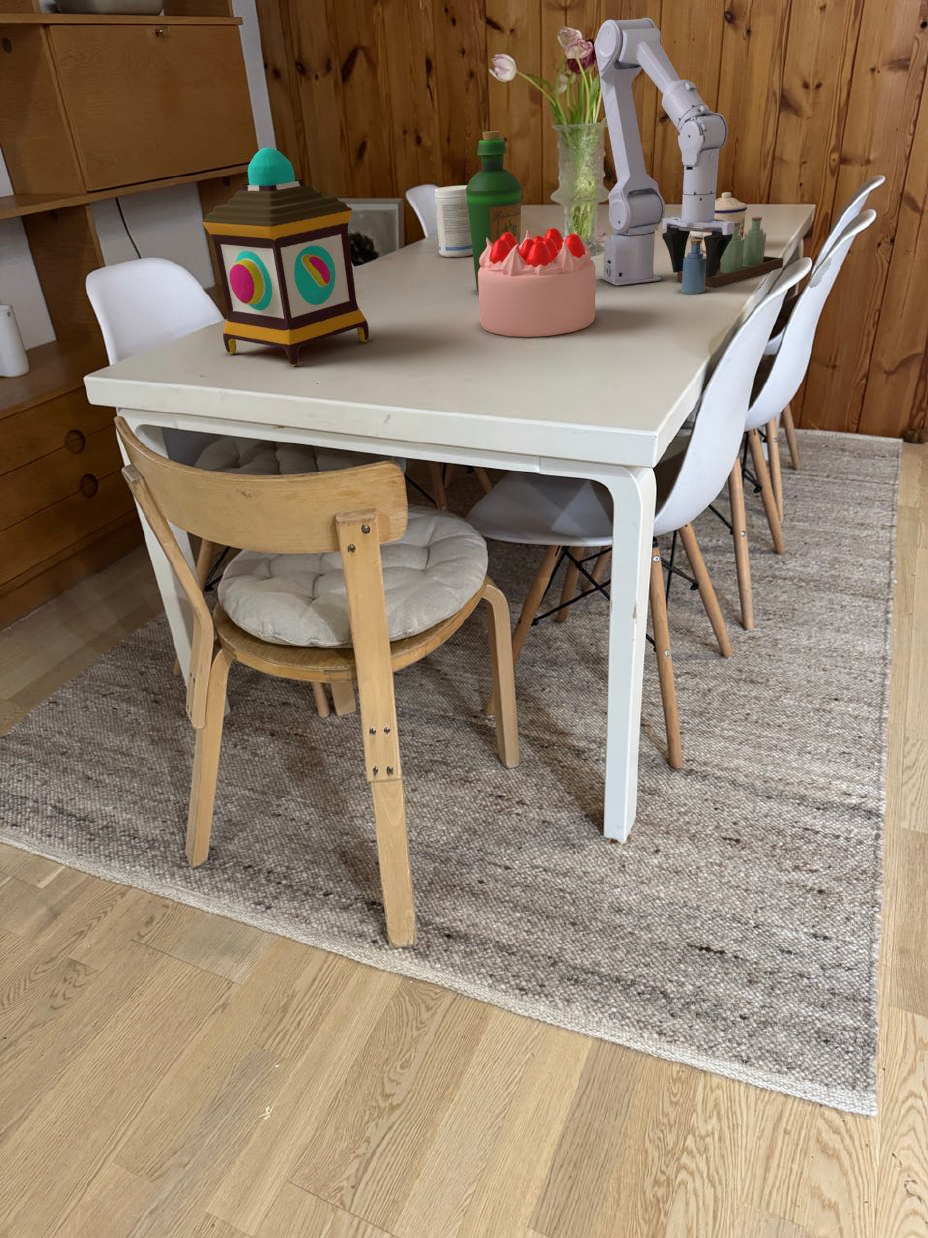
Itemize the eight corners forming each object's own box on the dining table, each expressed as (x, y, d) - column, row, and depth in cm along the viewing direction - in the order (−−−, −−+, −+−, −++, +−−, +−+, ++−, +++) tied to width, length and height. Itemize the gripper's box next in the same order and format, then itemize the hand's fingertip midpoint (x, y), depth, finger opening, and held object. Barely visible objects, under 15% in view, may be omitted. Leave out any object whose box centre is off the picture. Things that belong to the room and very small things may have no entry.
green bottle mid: (733, 274, 176) (737, 224, 171) (715, 271, 179) (719, 222, 174) (746, 270, 178) (750, 221, 173) (728, 268, 181) (732, 219, 176)
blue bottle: (694, 294, 166) (698, 242, 161) (676, 292, 168) (679, 240, 164) (709, 290, 168) (713, 238, 163) (691, 288, 171) (694, 237, 166)
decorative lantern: (303, 327, 163) (274, 141, 148) (382, 340, 152) (360, 139, 137) (214, 355, 151) (172, 154, 135) (292, 371, 139) (257, 153, 124)
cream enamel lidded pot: (737, 254, 196) (742, 195, 190) (696, 253, 200) (699, 195, 194) (750, 244, 205) (756, 187, 199) (710, 243, 209) (714, 188, 202)
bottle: (520, 296, 174) (515, 132, 160) (466, 297, 176) (456, 135, 162) (528, 284, 183) (524, 127, 168) (476, 285, 185) (468, 131, 171)
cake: (464, 320, 160) (458, 234, 153) (565, 304, 166) (565, 220, 158) (507, 344, 145) (503, 250, 137) (618, 325, 150) (620, 234, 143)
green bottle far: (754, 268, 180) (759, 219, 175) (737, 265, 182) (741, 217, 178) (767, 264, 182) (772, 216, 177) (749, 262, 185) (754, 214, 180)
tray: (715, 286, 170) (716, 276, 169) (676, 281, 176) (677, 271, 175) (782, 267, 181) (783, 257, 180) (744, 262, 187) (744, 253, 186)
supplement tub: (486, 252, 217) (483, 185, 210) (458, 259, 212) (453, 190, 204) (459, 249, 224) (455, 184, 216) (430, 256, 218) (425, 189, 211)
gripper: (652, 194, 162) (649, 273, 169) (718, 197, 152) (712, 281, 159) (678, 189, 166) (674, 266, 173) (744, 192, 156) (737, 274, 163)
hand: (694, 273), depth 166 cm, fingers open, 7 cm apart
